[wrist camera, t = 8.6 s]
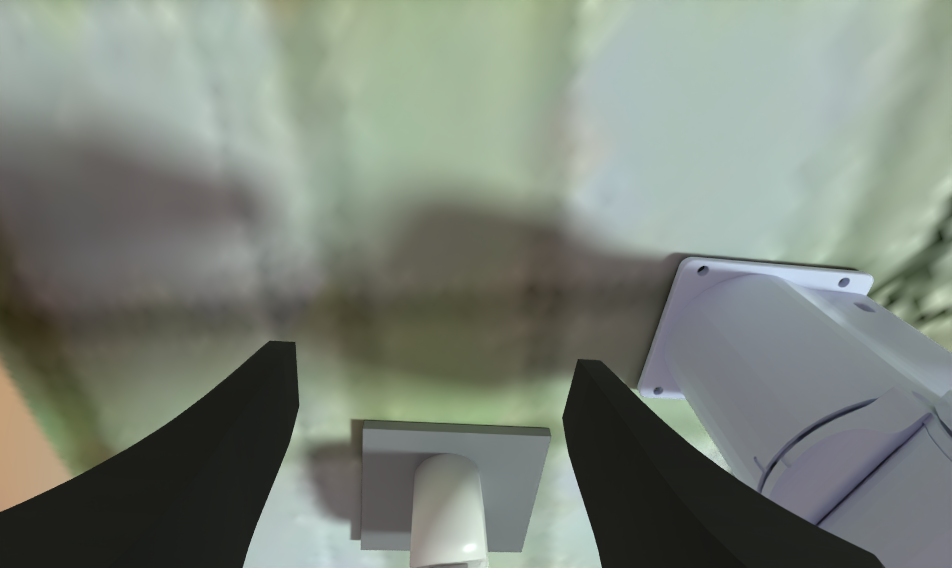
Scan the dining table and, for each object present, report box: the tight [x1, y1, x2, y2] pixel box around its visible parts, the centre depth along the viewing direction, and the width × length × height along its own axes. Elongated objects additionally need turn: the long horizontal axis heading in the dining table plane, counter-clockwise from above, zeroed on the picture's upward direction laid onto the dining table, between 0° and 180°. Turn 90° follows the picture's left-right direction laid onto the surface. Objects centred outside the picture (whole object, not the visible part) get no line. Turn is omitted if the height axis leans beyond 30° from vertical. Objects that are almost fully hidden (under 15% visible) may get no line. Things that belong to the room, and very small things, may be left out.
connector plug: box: [410, 453, 489, 568], centre depth 26 cm, size 4×7×6 cm, turn 6°
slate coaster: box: [361, 420, 551, 552], centre depth 29 cm, size 10×10×1 cm
